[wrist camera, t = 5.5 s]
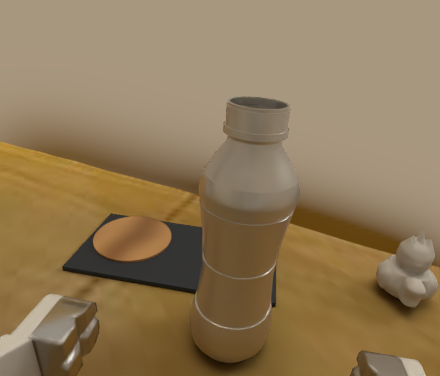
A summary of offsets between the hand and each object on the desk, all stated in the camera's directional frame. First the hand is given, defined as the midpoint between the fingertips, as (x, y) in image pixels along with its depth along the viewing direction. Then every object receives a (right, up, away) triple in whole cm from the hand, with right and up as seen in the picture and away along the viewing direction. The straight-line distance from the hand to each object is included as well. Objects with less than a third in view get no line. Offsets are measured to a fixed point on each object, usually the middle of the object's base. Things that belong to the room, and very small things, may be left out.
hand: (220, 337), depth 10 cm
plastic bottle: (+1, -8, +18) cm, 20 cm away
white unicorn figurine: (+19, -7, +24) cm, 31 cm away
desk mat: (-5, -3, +27) cm, 28 cm away
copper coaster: (-10, -2, +29) cm, 31 cm away
